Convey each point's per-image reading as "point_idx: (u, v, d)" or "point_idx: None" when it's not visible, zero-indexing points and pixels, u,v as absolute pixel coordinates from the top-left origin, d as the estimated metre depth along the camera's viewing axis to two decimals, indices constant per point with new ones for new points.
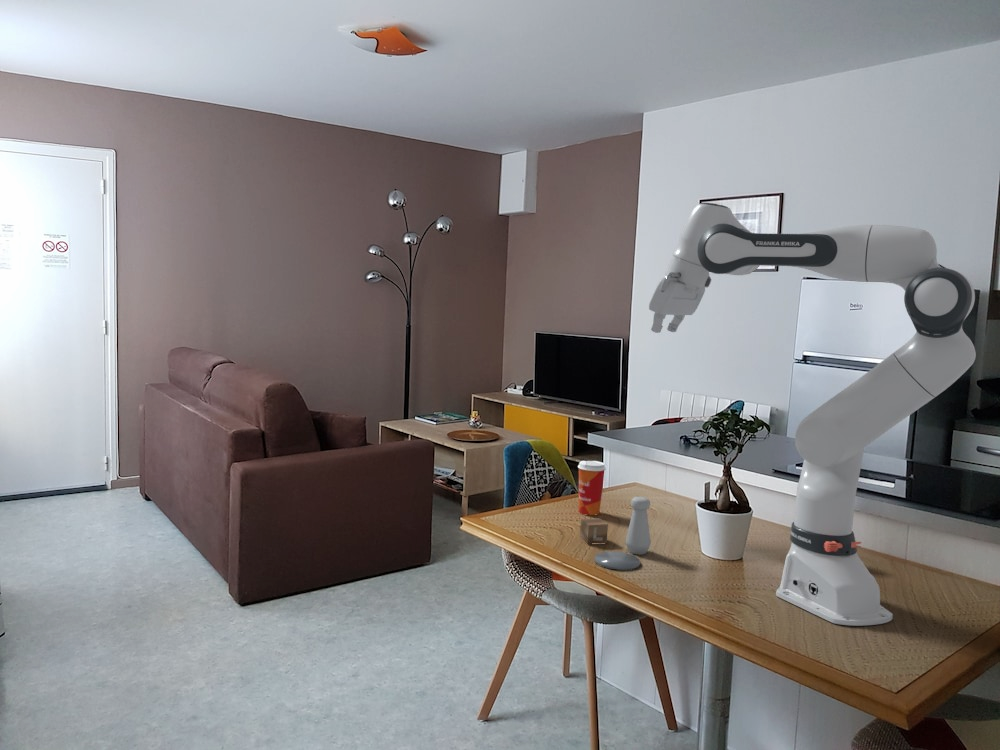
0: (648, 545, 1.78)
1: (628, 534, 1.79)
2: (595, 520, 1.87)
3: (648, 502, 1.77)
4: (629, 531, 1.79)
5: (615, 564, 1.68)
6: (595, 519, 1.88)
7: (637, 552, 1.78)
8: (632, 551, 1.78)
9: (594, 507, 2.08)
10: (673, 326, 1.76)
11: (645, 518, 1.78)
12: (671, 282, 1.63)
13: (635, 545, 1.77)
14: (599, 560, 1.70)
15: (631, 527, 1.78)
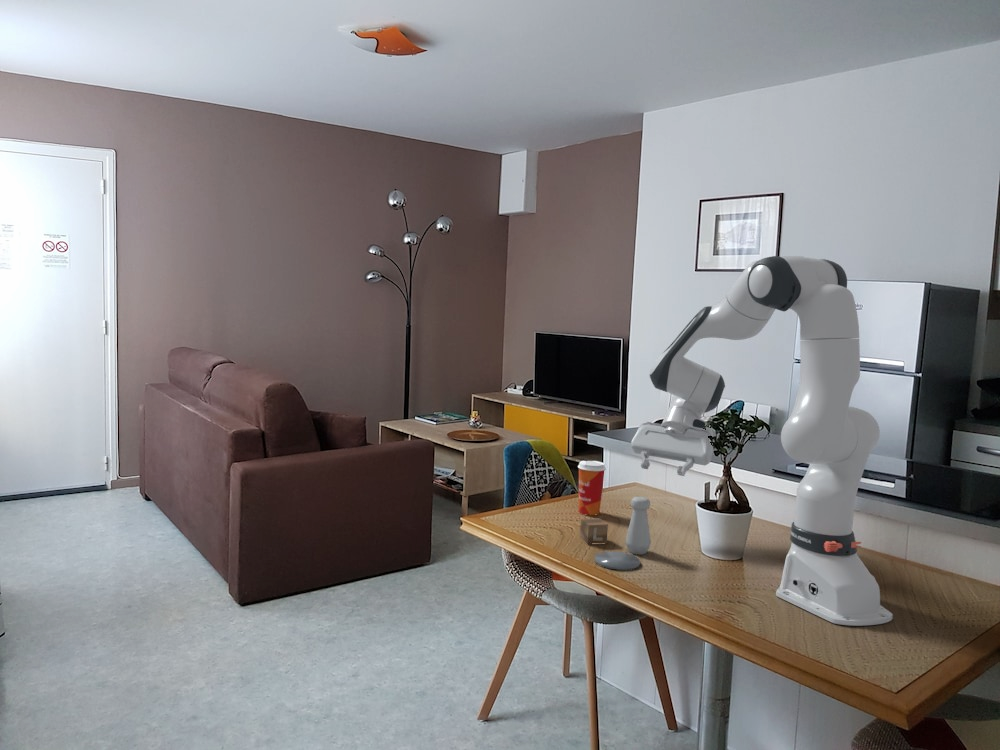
0: (648, 545, 1.78)
1: (628, 534, 1.79)
2: (595, 520, 1.87)
3: (648, 502, 1.77)
4: (629, 531, 1.79)
5: (615, 564, 1.68)
6: (595, 519, 1.88)
7: (637, 552, 1.78)
8: (632, 551, 1.78)
9: (594, 507, 2.08)
10: None
11: (645, 518, 1.78)
12: None
13: (635, 545, 1.77)
14: (599, 560, 1.70)
15: (631, 527, 1.78)
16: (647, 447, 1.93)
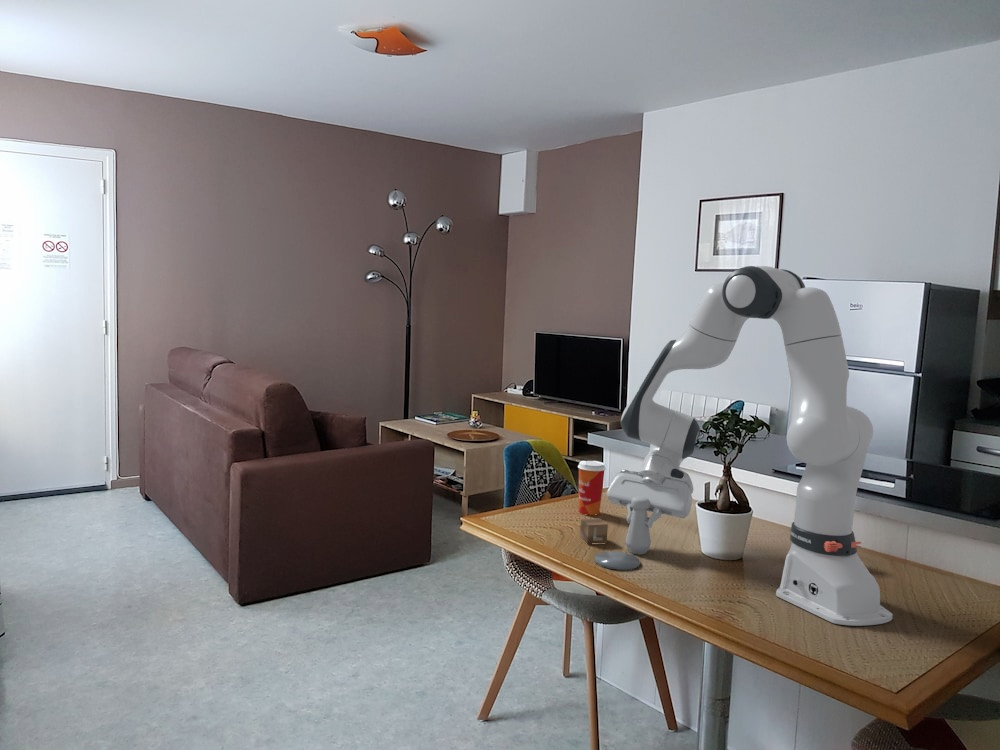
0: (648, 545, 1.78)
1: (628, 534, 1.79)
2: (595, 520, 1.87)
3: (648, 502, 1.77)
4: (629, 531, 1.79)
5: (615, 564, 1.68)
6: (595, 519, 1.88)
7: (637, 552, 1.78)
8: (632, 551, 1.78)
9: (594, 507, 2.08)
10: None
11: (645, 518, 1.78)
12: None
13: (635, 545, 1.77)
14: (599, 560, 1.70)
15: (631, 527, 1.78)
16: (623, 498, 1.83)
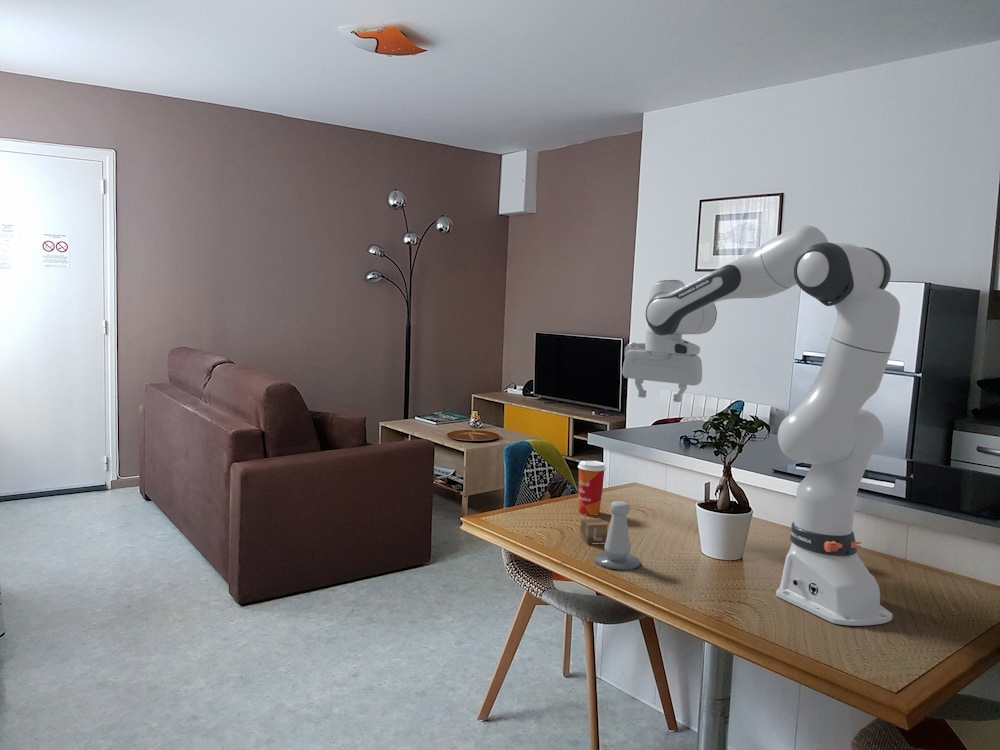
0: (627, 552, 1.70)
1: (607, 540, 1.71)
2: (595, 520, 1.87)
3: (627, 507, 1.69)
4: (608, 537, 1.71)
5: (615, 564, 1.68)
6: (595, 519, 1.88)
7: (616, 559, 1.70)
8: (611, 558, 1.70)
9: (594, 507, 2.08)
10: None
11: (624, 523, 1.70)
12: None
13: (613, 552, 1.69)
14: (599, 560, 1.70)
15: (610, 533, 1.71)
16: (639, 378, 1.95)
